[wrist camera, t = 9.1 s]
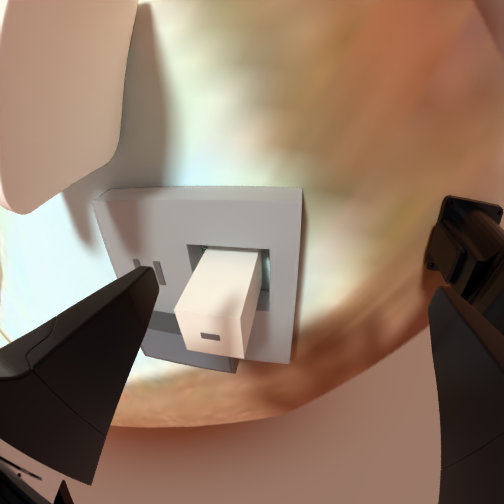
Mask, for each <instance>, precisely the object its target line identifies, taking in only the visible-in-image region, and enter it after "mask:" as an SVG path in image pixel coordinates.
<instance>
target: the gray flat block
mask: <svg viewBox="0 0 504 504" xmlns="http://www.w3.org/2000/svg"><path fill="white" fill-rule="evenodd" d="M140 347H141V349H142V351H143V353H144V354H145V356H149V357H153V358H157V359H161V360H165V361H170V362H174V363H179V364H184V365H189V366H194V367H199V368H204V369H210V370H216V371H222V372H228V373H235V374H236V370H237V366H238V362H239V358H235V357H228V356H221V355H215V354H209V353H203V352H197V351H192V350H187V348H186V345H185V342H184V339H183V336H182V333H181V330H180V327H179V324H178V321H177V318H176V315H175V314H173V313H167V312H161V311H155V310H153V313H152V316H151V319H150V323H149V326H148V329H147V332H146V334H145V337H144V339H143V341H142V344H141V346H140Z"/></svg>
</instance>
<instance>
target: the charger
mask: <svg viewBox="0 0 504 504" xmlns="http://www.w3.org/2000/svg"><path fill="white" fill-rule="evenodd" d="M261 285H262V249H256V248H240V247H224V246H208V247H207V249H206V250H205V252H204V254H203V256H202V258H201V260H200V261H199V263H198V265H197V267H196V269H195V271H194V272H193V274H192V276H191V278H190V280H189V282H188V284H187V286H186V287H185V289H184V291H183V293H182V295H181V297H180V299H179V301H178V303H177V305H176V307H175V309H174V312H175V315H176V318H177V321H178V324H179V327H180V330H181V333H182V336H183V339H184V342H185V345H186V348H187V350H192V351H197V352H203V353H209V354H215V355H221V356H228V357H235V358H242V359H244V357H245V353H246V349H247V345H248V340H249V336H250V332H251V328H252V324H253V319H254V315H255V311H256V306H257V302H258V298H259V293H260V289H261Z"/></svg>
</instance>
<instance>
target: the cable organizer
mask: <svg viewBox="0 0 504 504" xmlns="http://www.w3.org/2000/svg"><path fill="white" fill-rule="evenodd" d="M137 6H138V0H0V205H1V206H2V207H3V208H5V209H7V210H10V211H12V212H15V213H18V214H28V213H31V212H32V211H34V210H35V209H37V208H38V207H39V206H41V205H42V204H43V203H45V202H46V201H48V200H49V199H51V198H52V197H54V196H55V195H57V194H58V193H60V192H61V191H63V190H64V189H66V188H67V187H69V186H70V185H72V184H73V183H75V182H77V181H78V180H80V179H82V178H83V177H85V176H86V175H88V174H90V173H92V172H93V171H95V170H97V169H98V168H100V167H102V166H104V165H106V164H107V163H108V162H109V161H110V160H111V159H112V157H113V155H114V154H115V151H116V149H117V146H118V142H119V137H120V128H121V120H122V103H123V89H124V80H125V72H126V65H127V58H128V52H129V46H130V42H131V36H132V31H133V26H134V22H135V17H136V11H137Z"/></svg>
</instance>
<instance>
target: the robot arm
mask: <svg viewBox="0 0 504 504" xmlns="http://www.w3.org/2000/svg"><path fill="white" fill-rule="evenodd" d="M449 201H451V203H450V204H449V205H448V202H449ZM498 211H499V212H498ZM497 212H498V213H497ZM502 215H503V209H502V207H501V206H499V205H496V204H491V203H487V202H482V201H477V200H472V199H467V198H462V197H456V196H451V195H449V196H446V197H445V198H444V200H443V204H442V208H441V212H440V216H439V220H438V222H437V223H436V226H435V230H434V233H433V237H432V240H431V243H430V246H429V253H428V256H427V259H426V262H425V265H426V267H427V269H428V270H439V271H440V272H441V274H442V276H443V278H444V280H445V282H446V283H447V284H450V285H451V287H452V288H450V287H448V286H439V287H438V288H437V289H436V291H435V293H434V295H433V298H432V300H431V302H430V304H429V307H428V317H429V325H430V335H431V344H432V345H431V346H432V355H433V362H434V369H435V375H436V382H437V391H438V401H439V412H440V427H441V469H442V470H441V476H440V493H439V503H438V504H504V230H503V229H502V228H501V227H500V226H499V224H500V221H501V218H502ZM430 263H432V264H431V265H430ZM158 295H159V284H158V280H157V277H156V274H155V271H154V269H153V267H151V266H139V267H137V268H136V269H134V270H132V271H130V272H129V273H127V274H125V275H124V276H122V277H120V278H118V279H117V280H115V281H113V282H111V283H110V284H108V285H106V286H105V287H103V288H101V289H100V290H98V291H96V292H95V293H93V294H91V295H90V296H88V297H86V298H85V299H83V300H81V301H80V302H78V303H76V304H75V305H73V306H71V307H70V308H68V309H67V310H65V311H63V312H62V313H60V314H59V315H57V317H56V316H55V317H54V318H52V319H51V320H49V321H47V322H46V323H44V324H43V325H41V326H39V327H38V328H36V329H34V330H33V331H31V332H29V333H27V334H26V335H24V336H22V337H20V338H18V339H17V340H15V341H13V342H11V343H9V344H8V345H6V346H4V347H2V348H1V349H0V504H74V503H73V501H72V498H71V496H70V493H69V490H68V488H67V485H66V482H65V480H63V477H64V475H66V476H68V477H70V478H73V479H75V480H77V481H80V482H82V483H85V484H87V485H90V486H91V484H92V481H93V478H94V475H95V471H96V468H97V465H98V461H99V458H100V455H101V452H102V449H103V446H104V442H105V440H106V436H107V433H108V430H109V427H110V424H111V422H112V419H113V416H114V413H115V410H116V408H117V405H118V402H119V399H120V397H121V394H122V391H123V389H124V386H125V383H126V381H127V378H128V376H129V373H130V371H131V368H132V366H133V363H134V361H135V358H136V356H137V353H138V351H139V349H140V346H141V344H142V341H143V339H144V337H145V334H146V332H147V329H148V326H149V323H150V319H151V316H152V313H153V310H154V307H155V304H156V301H157V298H158Z"/></svg>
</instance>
